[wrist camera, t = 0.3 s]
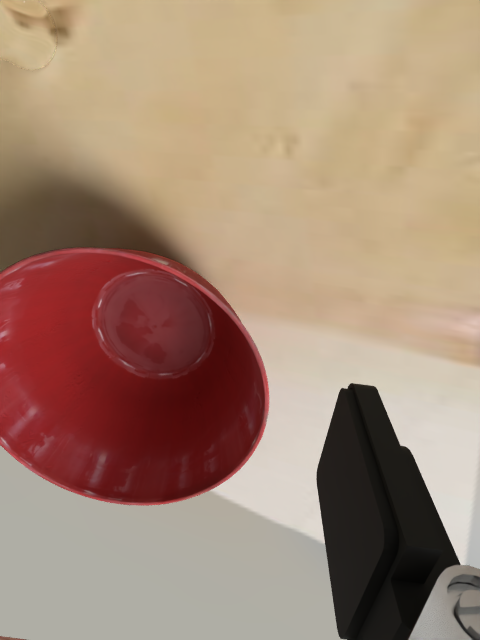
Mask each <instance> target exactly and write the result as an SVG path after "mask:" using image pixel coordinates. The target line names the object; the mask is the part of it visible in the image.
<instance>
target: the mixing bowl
mask: <svg viewBox="0 0 480 640" xmlns="http://www.w3.org/2000/svg"><path fill="white" fill-rule="evenodd" d="M268 411H269V388H268V381H267V376H266V371H265V368H264V364H263V361H262V359H261V356H260V354H259V352H258V349H257V347H256V345H255V343H254V341H253V340H252V338H251V336H250V334H249V333H248V331H247V330H246V328H245V327H244V325H243V324H242V323H241V321H240V319H239V317H238V316H237V314H236V313H235V311H234V310H233V309H232V307H231V306H230V305H229V303H228V302H227V301H226V300H225V298H224V297H223V296H222V295H221V294H220V292H219V291H218V290H217V289H216V288H215V287H213V286H212V285H211V284H210V283H209V282H208V281H206V280H205V279H204V278H203V277H202V276H200V275H199V274H197V273H196V272H195V271H193V270H191V269H189V268H187V267H186V266H184V265H182V264H180V263H178V262H176V261H174V260H171V259H168V258H165V257H163V256H160V255H156V254H153V253H149V252H145V251H137V250H130V249H120V248H89V247H80V248H66V249H58V250H52V251H48V252H44V253H40V254H36V255H33V256H30V257H28V258H25V259H23V260H21V261H19V262H17V263H15V264H13V265H11V266H9V267H7V268H6V269H5V270H3V271H2V272H0V445H1V446H2V447H3V448H4V449H5V450H6V451H7V452H8V453H9V454H11V455H12V456H13V457H14V458H15V459H16V460H17V461H19V462H20V463H21V464H23V465H24V466H25V467H27V468H28V469H29V470H31V471H32V472H34V473H36V474H37V475H39V476H40V477H42V478H44V479H46V480H48V481H49V482H51V483H53V484H55V485H57V486H59V487H61V488H63V489H66V490H68V491H71V492H74V493H76V494H79V495H82V496H85V497H89V498H92V499H96V500H100V501H105V502H110V503H116V504H124V505H160V504H168V503H173V502H178V501H182V500H186V499H189V498H192V497H195V496H198V495H200V494H202V493H205V492H207V491H209V490H211V489H213V488H215V487H217V486H219V485H220V484H222V483H223V482H225V481H226V480H228V479H229V478H230V477H232V476H233V475H234V474H235V473H236V472H237V471H238V470H240V469H241V467H242V466H243V465H244V464H245V463H246V462H247V461H248V459H249V458H250V457H251V455H252V454H253V452H254V451H255V449H256V447H257V446H258V444H259V442H260V440H261V438H262V435H263V432H264V429H265V426H266V422H267V417H268Z"/></svg>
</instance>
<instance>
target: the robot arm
mask: <svg viewBox="0 0 480 640" xmlns="http://www.w3.org/2000/svg"><path fill="white" fill-rule="evenodd" d="M317 488H318V495H319V502H320V509H321V517H322V524H323V531H324V538H325V545H326V552H327V559H328V566H329V574H330V581H331V588H332V595H333V602H334V609H335V616H336V623H337V629H338V634H339V636H340V638H341V639H347V640H480V569H477V568H474V567H471V566H469V565H460V562H459V560H458V558H457V556H456V553H455V551H454V549H453V546H452V544H451V542H450V540H449V537H448V535H447V533H446V530H445V528H444V526H443V524H442V521H441V519H440V517H439V514H438V512H437V510H436V507H435V505H434V503H433V501H432V498H431V496H430V494H429V491H428V489H427V487H426V485H425V482H424V480H423V478H422V475H421V473H420V471H419V469H418V466H417V464H416V462H415V459H414V457H413V455H412V453H411V452H410V450H409V449H408V448H407V447H404V446H400V444H399V441H398V439H397V437H396V434H395V432H394V429H393V427H392V424H391V422H390V420H389V417H388V415H387V412H386V410H385V407H384V405H383V403H382V400H381V398H380V395H379V393H378V390H377V389H376V387H374V386H368V385H361V384H353V383H351V384H350V385H349V386H348V389H344V388H342V389H341V390H340V392H339V395H338V399H337V402H336V405H335V409H334V412H333V416H332V419H331V423H330V426H329V430H328V433H327V437H326V440H325V444H324V447H323V451H322V454H321V458H320V461H319V464H318V468H317ZM0 640H25V639H17V638H10V637H2V636H0Z"/></svg>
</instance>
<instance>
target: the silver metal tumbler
mask: <svg viewBox="0 0 480 640" xmlns="http://www.w3.org/2000/svg"><path fill="white" fill-rule="evenodd" d="M56 45H57V35H56V29H55V25H54V22H53V19H52V17H51V15H50V13H49V11H48V10H47V8H46V7H45V6H44V5H43V3H42V2H41V1H40V0H0V60H6V61H8V62H10V63H11V64H13V65H15V66H17V67H19V68H21V69H25V70H38V69H41V68H43V67H44V66H46V65H47V64H48V63H49V62H50V61H51V59H52V58H53V56H54V53H55V50H56Z"/></svg>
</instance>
